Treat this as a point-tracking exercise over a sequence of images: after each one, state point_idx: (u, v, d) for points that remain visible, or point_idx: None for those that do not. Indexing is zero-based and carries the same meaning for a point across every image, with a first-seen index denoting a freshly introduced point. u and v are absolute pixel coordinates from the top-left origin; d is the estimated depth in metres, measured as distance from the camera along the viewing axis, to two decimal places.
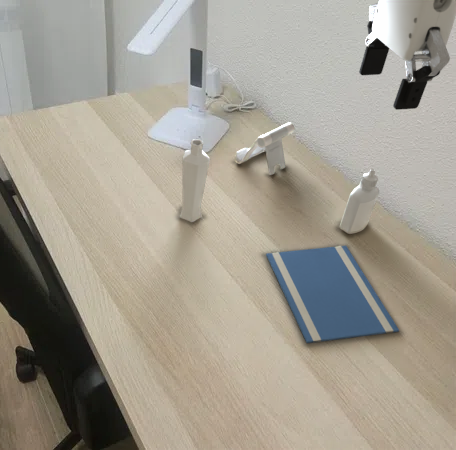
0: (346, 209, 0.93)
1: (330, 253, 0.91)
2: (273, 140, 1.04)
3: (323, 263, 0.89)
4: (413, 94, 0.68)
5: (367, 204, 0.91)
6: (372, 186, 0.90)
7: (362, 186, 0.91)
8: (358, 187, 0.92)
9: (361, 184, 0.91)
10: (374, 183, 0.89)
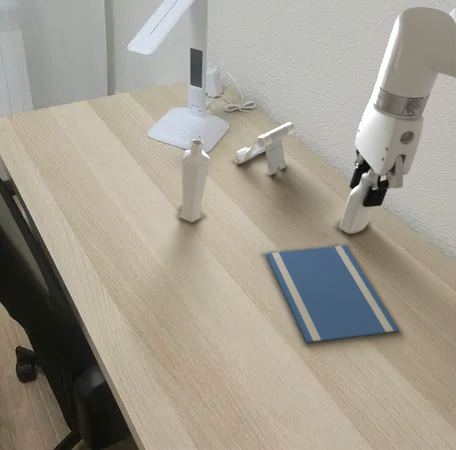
0: (346, 209, 0.93)
1: (330, 253, 0.91)
2: (273, 140, 1.04)
3: (323, 263, 0.89)
4: (377, 197, 0.89)
5: None
6: None
7: (361, 186, 0.91)
8: (358, 187, 0.92)
9: (361, 184, 0.91)
10: None
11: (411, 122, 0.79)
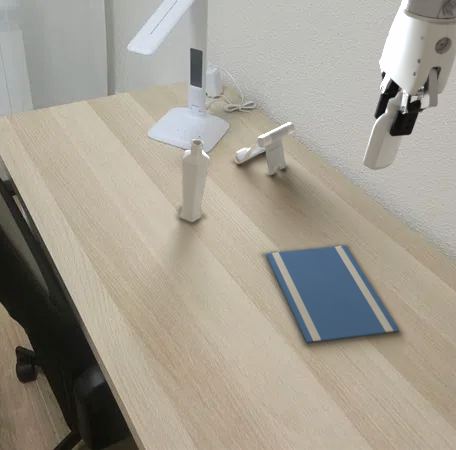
0: (370, 141, 0.83)
1: (330, 253, 0.91)
2: (273, 140, 1.04)
3: (323, 263, 0.89)
4: (406, 123, 0.78)
5: None
6: None
7: (388, 112, 0.81)
8: (384, 114, 0.81)
9: (387, 110, 0.81)
10: None
11: (447, 26, 0.68)
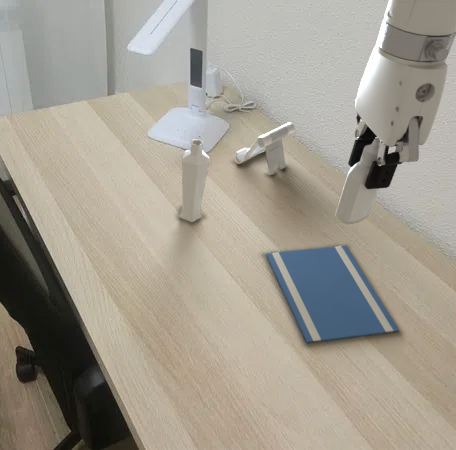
0: (343, 192, 0.73)
1: (330, 253, 0.91)
2: (273, 140, 1.04)
3: (323, 263, 0.89)
4: (383, 176, 0.68)
5: None
6: None
7: (363, 162, 0.70)
8: (358, 163, 0.71)
9: (362, 159, 0.70)
10: None
11: (430, 71, 0.58)
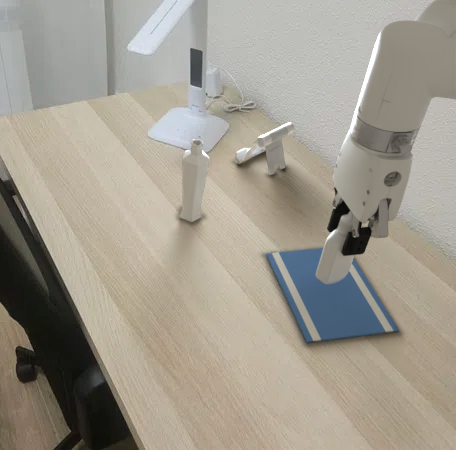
0: (322, 256, 0.79)
1: None
2: (273, 140, 1.04)
3: None
4: (358, 245, 0.74)
5: None
6: None
7: (340, 230, 0.76)
8: (336, 231, 0.77)
9: (339, 228, 0.76)
10: None
11: (396, 161, 0.64)
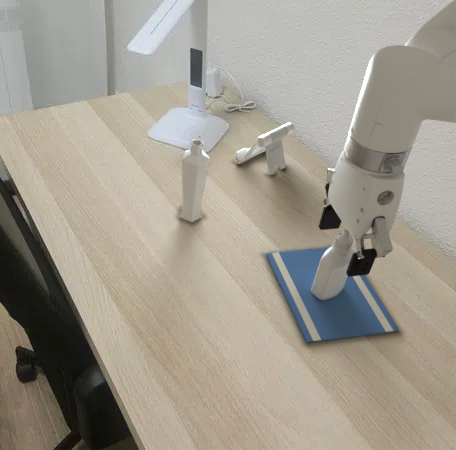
0: (317, 273, 0.81)
1: None
2: (273, 140, 1.04)
3: None
4: (363, 266, 0.73)
5: (342, 269, 0.79)
6: (347, 249, 0.78)
7: (334, 248, 0.78)
8: (331, 249, 0.79)
9: (334, 246, 0.78)
10: (348, 246, 0.77)
11: (389, 181, 0.66)
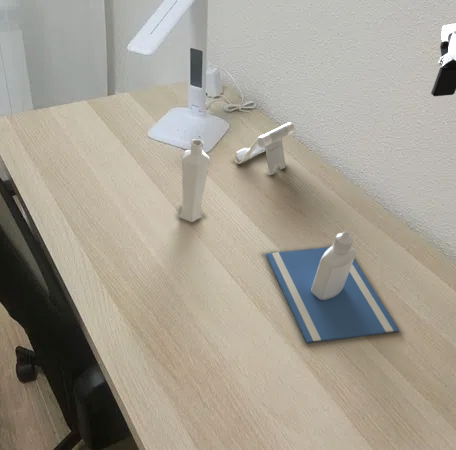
0: (317, 273, 0.81)
1: None
2: (273, 140, 1.04)
3: None
4: None
5: (342, 269, 0.79)
6: (347, 249, 0.78)
7: (335, 249, 0.78)
8: (331, 249, 0.79)
9: (334, 246, 0.78)
10: (349, 246, 0.77)
11: None
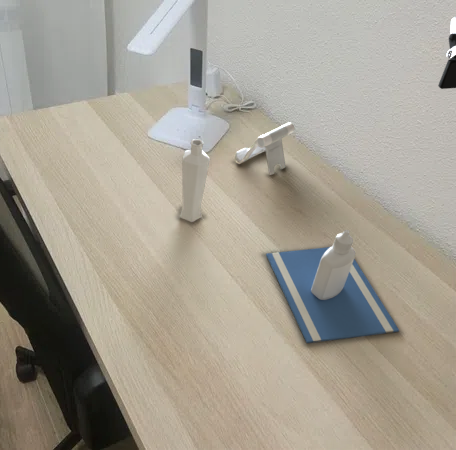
0: (317, 273, 0.81)
1: None
2: (273, 140, 1.04)
3: None
4: None
5: (342, 269, 0.79)
6: (347, 249, 0.78)
7: (335, 249, 0.78)
8: (331, 249, 0.79)
9: (334, 246, 0.78)
10: (349, 246, 0.77)
11: None
